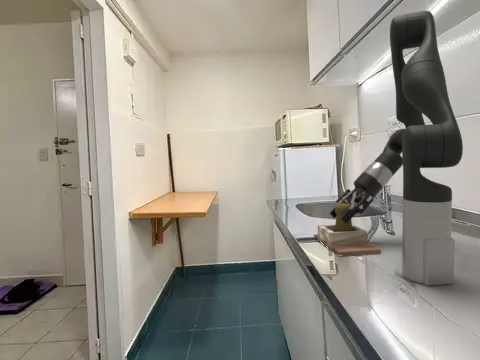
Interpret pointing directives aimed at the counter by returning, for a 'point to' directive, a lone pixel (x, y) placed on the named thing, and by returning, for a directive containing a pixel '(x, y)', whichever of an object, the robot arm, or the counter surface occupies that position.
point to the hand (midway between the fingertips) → (337, 218)
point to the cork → (340, 211)
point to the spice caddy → (346, 241)
